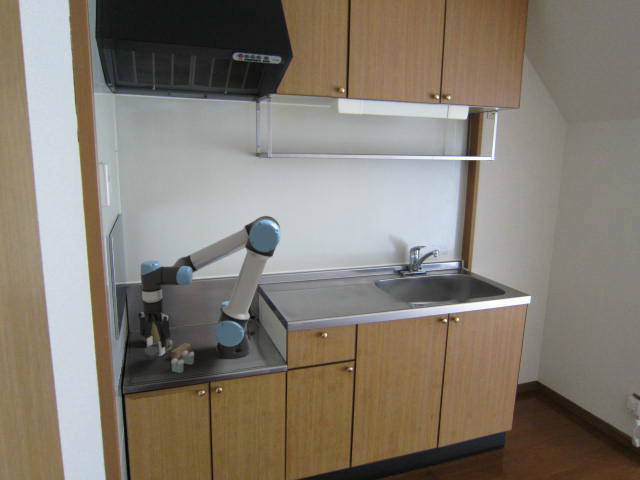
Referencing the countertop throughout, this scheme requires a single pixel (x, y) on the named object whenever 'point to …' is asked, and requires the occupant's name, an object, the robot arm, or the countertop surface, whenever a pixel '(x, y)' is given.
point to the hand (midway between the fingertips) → (156, 353)
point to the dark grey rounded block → (154, 350)
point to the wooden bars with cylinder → (178, 350)
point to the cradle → (182, 361)
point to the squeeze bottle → (154, 333)
